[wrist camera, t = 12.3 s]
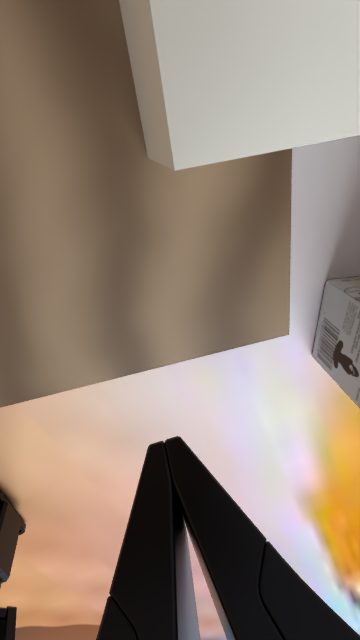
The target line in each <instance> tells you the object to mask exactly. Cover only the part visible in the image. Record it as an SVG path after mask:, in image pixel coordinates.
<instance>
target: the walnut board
mask: <svg viewBox="0 0 360 640" xmlns="http://www.w3.org/2000/svg"><path fill="white" fill-rule="evenodd" d="M291 169H292V148H291V149H285V150H280V151H275V152H270V153H265V154H259V155H254V156H249V157H244V158H238V159H233V160H228V161H223V162H218V163H212V164H207V165H202V166H197V167H192V168H186V169H181V170H176V171H174V170H172V169H170V168H168V167H166V166H164V165H162V164H160V163H158V162H156V161H154V160H152V159H150V158H148V156H147V150H146V145H145V139H144V134H143V128H142V123H141V118H140V112H139V107H138V101H137V96H136V90H135V85H134V79H133V74H132V68H131V63H130V58H129V52H128V47H127V41H126V36H125V30H124V25H123V19H122V14H121V8H120V3H119V0H0V407H4V406H8V405H12V404H16V403H20V402H24V401H28V400H32V399H36V398H40V397H44V396H48V395H52V394H56V393H60V392H64V391H67V390H71V389H75V388H79V387H83V386H87V385H91V384H95V383H99V382H103V381H107V380H111V379H115V378H119V377H123V376H127V375H131V374H135V373H139V372H143V371H147V370H151V369H155V368H159V367H163V366H166V365H170V364H174V363H178V362H182V361H186V360H190V359H194V358H198V357H202V356H206V355H210V354H214V353H218V352H222V351H226V350H230V349H234V348H238V347H242V346H246V345H250V344H254V343H258V342H261V341H265V340H269V339H273V338H277V337H281V336H285V335H289V313H290V241H291Z"/></svg>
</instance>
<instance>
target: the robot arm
mask: <svg viewBox="0 0 360 640" xmlns="http://www.w3.org/2000/svg"><path fill="white" fill-rule="evenodd" d="M184 520H185V521H184ZM185 523H186V526H185ZM186 527H187V530H188V533H189V536H190V539H191V541H192V544H193V547H194V550H195V552H196V555H197V558H198V561H199V563H200V566H201V569H202V572H203V574H204V577H205V580H206V583H207V585H208V588H209V591H210V594H211V596H212V599H213V602H214V605H215V607H216V610H217V613H218V616H219V618H220V621H221V624H222V627H223V629H224V632H225V635H226V638H227V640H360V636H359V635H358V634H357V633H356V632H355V631H354V630H353V629H352V628H351V627H350V626H349V625H348V624H347V623H346V622H345V621H344V620H343V619H342V618H341V617H340V616H339V615H337V614H336V613H335V612H334V611H333V610H332V609H331V608H330V607H329V606H328V605H327V604H326V603H325V602H324V601H323V600H322V599H321V598H320V597H319V596H318V595H317V594H316V593H315V592H314V591H313V590H312V589H311V588H310V587H309V586H308V585H307V584H306V583H305V582H304V581H303V580H302V579H301V578H300V577H299V575H298V574H297V573H296V572H295V571H294V570H293V569H292V568H291V566H290V565H289V564H288V563H287V562H286V561H285V560H284V559H283V558H282V556H281V555H280V554H279V553H278V552H277V551H276V549H275V548H274V547H273V546H272V545H271V543H270V542H267V541H266V538H265V537H264V535H263V534H262V533H261V532H260V531H259V529H258V528H257V527H256V526H255V525H254V524H253V522H252V521H251V520H250V519H249V518H248V516H247V515H246V514H245V513H244V512H243V511H242V509H241V508H240V507H239V506H238V505H237V503H236V502H235V501H234V500H233V499H232V498H231V496H230V495H229V494H228V493H227V492H226V490H225V489H224V488H223V487H222V486H221V485H220V483H219V482H218V481H217V480H216V479H215V477H214V476H213V475H212V474H211V473H210V471H209V470H208V469H207V468H206V467H205V466H204V464H203V463H202V462H201V461H200V460H199V458H198V457H197V456H196V455H195V454H194V453H193V451H192V450H191V449H190V448H189V447H188V445H187V444H186V443H185V442H184V441H183V440H182V438H181V437H179V436H176V437H173V438H170V439H167V440H166V441H165V443H164V442H163V441H160V442H156V443H153V444H150V445H149V447H148V449H147V453H146V457H145V461H144V464H143V468H142V472H141V476H140V479H139V483H138V487H137V491H136V494H135V498H134V502H133V506H132V509H131V513H130V517H129V521H128V524H127V528H126V532H125V535H124V539H123V543H122V547H121V550H120V554H119V558H118V562H117V565H116V569H115V573H114V577H113V580H112V584H111V588H110V592H109V594H110V595H111V596H109V597H108V599H107V602H106V606H105V610H104V614H103V617H102V621H101V624H100V628H99V631H98V635H97V638H96V640H200V633H199V625H198V617H197V609H196V601H195V593H194V585H193V577H192V570H191V562H190V554H189V546H188V538H187V531H186ZM25 528H26V524H25V523H24V522H23V520H22V519H21V518H20V516H19V515H18V514H17V512H16V511H15V510H14V508H13V507H12V506H11V504H10V503H9V502H8V500H7V499H6V498H5V496H4V495H3V494H2V492H1V491H0V588H1V583H3V582H6V581H7V580H8V578H9V576H10V572H11V567H12V563H13V558H14V554H15V549H16V545H17V540H18V535H21V534H23V533H24V532H25ZM16 610H17V608H16V607H11V606H8V607H7V608H0V640H15V626H16Z"/></svg>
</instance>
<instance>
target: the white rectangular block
mask: <svg viewBox="0 0 360 640" xmlns="http://www.w3.org/2000/svg"><path fill="white" fill-rule="evenodd" d="M119 3H120V8H121V14H122V19H123V25H124V30H125V36H126V41H127V47H128V52H129V58H130V63H131V68H132V74H133V79H134V85H135V90H136V96H137V101H138V107H139V112H140V118H141V123H142V128H143V134H144V139H145V145H146V150H147V156H148V158H150V159H152V160H154V161H156V162H158V163H160V164H162V165H164V166H166V167H168V168H170V169H172V170H174V171H176V170H181V169H186V168H192V167H197V166H202V165H207V164H212V163H218V162H223V161H228V160H233V159H238V158H244V157H249V156H254V155H259V154H265V153H270V152H275V151H280V150H285V149H291V148H296V147H301V146H306V145H311V144H317V143H322V142H327V141H332V140H338V139H343V138H348V137H353V136H358V135H360V0H119Z"/></svg>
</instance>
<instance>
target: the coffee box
mask: <svg viewBox="0 0 360 640" xmlns="http://www.w3.org/2000/svg"><path fill="white" fill-rule="evenodd" d="M312 356H313V358H314V359H315V360H316V361H317V362H318V363H319V364H320V366H321V367H322V368H323V369H324V370H325V371H326V372H327V373H328V374H329V375H330V376H331V377H332V379H333V380H334V381H335V382H336V383H337V384H338V385H339V386H340V387H341V388H342V390H343V391H344V392H345V393H346V394H347V395H348V396H349V397H350V398H351V399H352V401H353V402H354V403H355V404H356V405H357V406H358V407H359V408H360V277H350V278H340V279H332V280H328V281H327V282H326V285H325V289H324V294H323V300H322V305H321V310H320V315H319V321H318V326H317V331H316V337H315V342H314V347H313V352H312Z"/></svg>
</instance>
